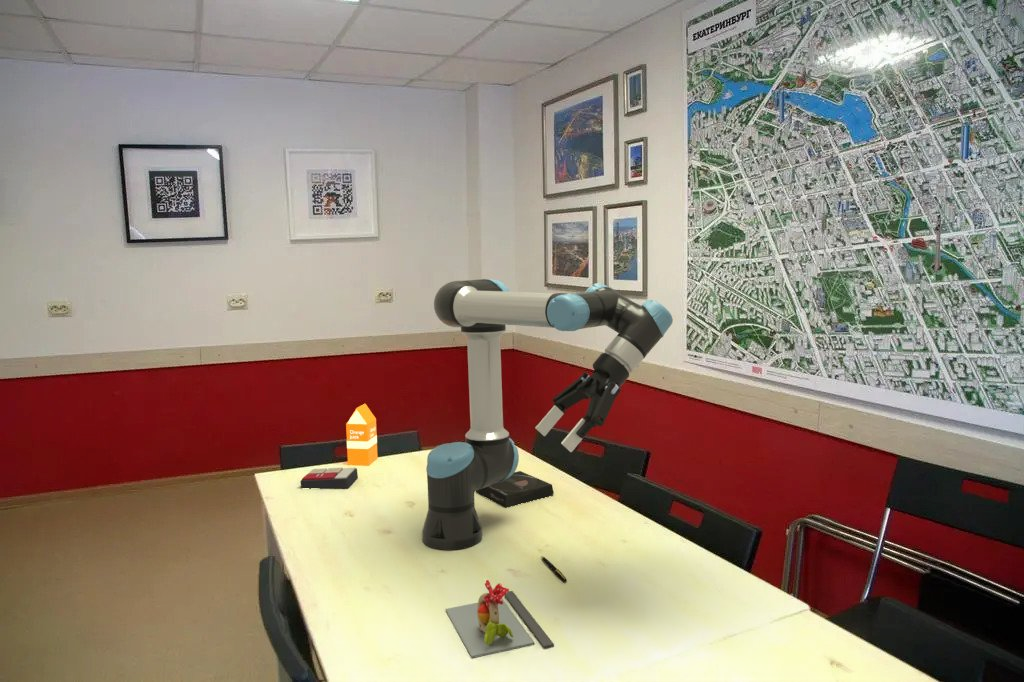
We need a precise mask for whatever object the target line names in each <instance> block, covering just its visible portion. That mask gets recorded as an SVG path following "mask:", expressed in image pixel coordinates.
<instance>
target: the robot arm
mask: <svg viewBox="0 0 1024 682" xmlns="http://www.w3.org/2000/svg"><path fill="white" fill-rule="evenodd" d="M433 299H434V300H433V309H434V313H435V316H436V317H437V318H438V320H439V321H441V322H442V323H443V324H445V326H448V327H452V328H460V333H461V334H462V335H463V336H464V337H465V338H466V339H467V340H466V341H467V343H466V344H467V346H466V347H467V365H468V368H467V369H468V371H467V372H468V391H469V392H468V394H469V395H468V396H469V418H470V423H469V424H470V428H469V430H468V431H467V432H466V433H465V435H464V436H465V437H464V439H465V440H464V441H465V442H464V441H454V442H451V443H449V442H447V443H443V444H439V445H437V446H435V447H434V448H433V449H431V450H430V451H429V453H428V454H427V459H426V470H425V471H426V478H427V480H426V482H427V483H426V484H427V501H428V504H427V505H428V510H427V513H426V517H425V519H424V523H423V527H422V532H421V537H422V543H424V544H425V546H428V547H429V548H432V549H437V550H443V551H444V550H445V551H448V550H451V551H452V550H460V549H461V550H462V549H465V548H469V547H472V546H475V545H476V544H478V543H479V542H481V541H482V539H483V527H482V524H481V521H480V518H479V516H478V512H477V509H476V506H475V505H476V504H475V493H476V491H477V490H480V489H482V488H485V487H488V486H490V485H493V484H497V483H500V482H502V481H504V480H505V479H507V478H509V477H510V476H512V475H513V473H514V472H517V468H518V465H519V460H520V458H519V457H520V456H519V450H518V447H517V446H516V445H515V442H514V441H513V439H512V438H511V437H510V432H509V431H508V430H507V429H505V428H504V415H503V414H504V412H503V411H504V410H503V389H502V388H503V387H502V385H503V383H502V358H501V357H502V355H501V354H502V353H501V351H502V350H501V338H502V335H504V333H505V332H506V330H507V329H506V325H507V326H518V327H519V326H522V327H523V326H524V327H535V328H536V327H537V328H554V329H555V330H558V331H559V332H560V331H561V332H575V331H578V330H583V329H589V328H595V327H602V326H606V327H608V328H609V329H611V330H612V331H614V332H615V333H618V334H617V335H616V336H615V337H614V338H613V339H612V340H611V341H610V343H609V344H608V345H607V346H606V347H605V349H604V352H602V353H601V354H600V355H599V356H598V357H597V358H596V360H595V361H594V362H593V363H592V368H593V371H594V372H593V373H592V374H591V375H589V373H588V372H586V371H584V372H583V373H582V374H581V375H580V376H579V377H578V378H577V379H575V381H573V382H572V383H571V384H570V385H568V386H567V387H566V388H564V389H563V390H562V391H560V393H558V394H557V395H556V396H554V397H553V398H552V403H553V406H552V408H551V409H550V410H548V412H547V413H546V415H544V417H543V418H542V419H541V421H540V422H539V423H538V424H537V425H536V426H535V429H536V430H537V432H539V433H540V434H541V435H542V436H543V437H546V436H547V435H548V433H549V432H550V431H551V430H552V428H553V427H554V426H555V425H556V424H557V423H558V421H559V420H560V419H561V418H562V416H564V415H565V414H566V410H568V409H570V408H571V407H573V406H574V405H576V404H578V403H579V402H581V401H583V400H588V399H589V402H588V403H589V404H588V408H587V409H586V410H587V411H586V414H584V415H582V418H581V419H580V420H579V421H578V422H577V423H576V424H575V426H574V427H573V428H572V429H571V431H570V432H569V433H568V434H567V436H565V437H564V439H563V440H562V441H561V445H562V446H563V447H564V448H565V449H566V450H568V451H569V452H570V453H572V452H573V451H574V450H575V449H576V448H577V446H578V445H579V444H580V443H581V442H582V440H583V439H584V438H585V437H586V436H587V434H588V433H589V432H590V431H591V430H592V429H593V428H596V427H597V426H598V427H599V428H601V427H603V426H604V424H605V421H606V419H607V417H608V416H609V413H610V411H611V408H612V407H613V405H614V403H615V400H616V398H617V397H618V395H619V394H620V393H621V391H622V388H620V387H622V386H623V384H624V383H625V382H626V381H627V379H628V378H629V377H630V374H631V373H633V372H634V371H635V369H636V368H639V366H640V363H641V362H643V360H644V359H645V357H647V355H648V354H649V353H650V352H651V350H652V349H653V348H654V347H655V346H656V345H657V344H658V342H659V341H660V340H661V339H662V338H664V336H665V334H666V333H667V331H668V330H669V328H671V326H672V325H673V316H672V313H671V312H670V311H669V310H668V309H667V308H666V307H665V305H664V304H661V302H658V301H657V300H652V299H647V300H645V302H644V303H642V304H638V303H637V302H635V301H632V300H631V299H629V298H628V297H626V296H624V295H623V294H621V293H620V292H618V291H617V290H615V289H614V288H612V287H610V286H607V285H605V284H603V283H600V282H599V283H598V282H597V283H593V284H592V286H591V285H590V286H589V287H588V288H587V289H586V290H585V291H584V292H580V293H579V292H578V293H577V292H576V293H575V292H571V293H568V292H534V291H533V292H531V291H525V292H524V291H511V290H510V288H508V287H507V285H506V284H505V283H503V282H502V281H500V280H497V279H491V278H490V279H489V278H483V279H469V280H468V279H467V280H453V281H450V282H446V283H445V284H444V285H442V286H441V287H440V288H439V289H438V290H437V291H436V294H435V296H434V298H433Z"/></svg>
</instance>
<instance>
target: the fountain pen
mask: <svg viewBox="0 0 1024 682" xmlns="http://www.w3.org/2000/svg"><path fill="white" fill-rule="evenodd" d="M540 558H541V559H542V561H543V562H544V563H545V565H546V566H547V565H548V566H547V567H548V568H549V569H550V570H551V571H552V572H553V573H554V575H555V576H556V577H558V579H560V580H561V581H562V582H564V583H567V582H568V581H567V579H568V578H566V576H565V575H564V574H563V572H562V571H560V570H559V569H558V568H557V567H556V566H555V565H554V564H553V563H552V562H551V561H549V559H547V558H546V557H545V556H542V555H541V556H540Z"/></svg>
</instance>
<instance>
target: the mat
mask: <svg viewBox="0 0 1024 682" xmlns="http://www.w3.org/2000/svg"><path fill="white" fill-rule="evenodd" d="M504 597H505V599H506V600H507V601H508V603H509V604H510V606H511V607H512V608H513V610H514V611H515V612H516V614H517V615H518V616H519V617H520V619H521V620H522V622H523V623H524V625H525V626H526V627H527V628H528V630H529V631H530V632H531V635H533V636H534V638H535V639H536V640H537V642H538V643H539V644H540V646H541V648H543V649H544V650H545V649H549V648H550V649H551V648H553V647H555V643H554V642H553V641H552V640H551V638H550V637H549V636H548V634H547V633H546V632H545V631H544V629H543V628H542V627H541V625H540V624H539V623H538V621H536V619H535V617H533V615H532V614H531V613H530V612H529V610H528V609H527V608H526V606H525V605H524V604H523V602H522V601H521V600H520V599H519V598H518V596H517V595H516V594H515V592H514V591H513V590H509V592H508V593H507V594H506V595H505V596H504ZM502 601H503V604H499V603H498V610H499V624H500V623H503V624H506V625H507V626H508V627H509V628H510V629H511V631H512V633H513V637H511V636H510V634H509V632H508V634H507V635H506V636H505V637H500V636H497V635H495V638H494V640H493V641H492V644H491V645H489V643H485V642H484V637H485V634H486V633H484V632H483V631H480V629H479V621H478V616H477V605H478V602H475V603H468V604H464V605H459V606H453V607H448V608H445V612H446V614H447V616H448V618H449V619H450V621H451V624H452V625H453V627H454V628H455V630H456V632H457V634H458V636H459V638H460V639H461V641H462V643H463V645H464V647H465V648H466V650H467V653H468V654H469V656H470V657H471V659H474V658H475V659H476V658H479V657H483V656H487V655H492V654H497V653H501V652H506V651H511V650H514V649H520V648H524V647H528V646H529V647H530V646H532V645H535V641H534V639H533V638H532V637H531V636H530V633H528V632H527V630H526V629H525V627H524V626H523V624H522V623H521V622H520V620H519V619H518V618H517V616H516V615H515V613H514V612H513V611H512V610H511V608H510V606H508V604H507V602H506V601H505V600H504V599H503V598H502Z"/></svg>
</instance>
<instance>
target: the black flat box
mask: <svg viewBox="0 0 1024 682" xmlns="http://www.w3.org/2000/svg"><path fill="white" fill-rule="evenodd" d="M554 492H555V491H554V489H553V484H552V483H549V482H547V481H544V480H542V479H541V478H538V477H535V476H532V475H530V474H529V473H526V472H523V471H521V470H519V471H515V472H514V473H513V475H512V476H510V477H509V478H507V479H505V480H504V481H502V482H500V483H497V484H493V485H490V486H488V487H485V488H482V489H480V490H477V491H475V493H476V494H478V495H480V496H482V497H484V498H485V497H486V498H485V499H487V498H488V500H489V499H490V501H491V500H492V501H491V502H494V503H495V502H496V503H495V504H498V505H499V506H501V507H503V508H505V509H508V508H512V507H515V505H516V506H519V505H518V504H520V505H522V504H521V503H524V504H527V503H531V502H534V501H533V500H535V501H538V500H537V499H539V500H542V499H541V498H543V499H546V498H545V497H547V498H550V497H549V496H551V497H553V496H554V494H555V493H554ZM530 501H531V502H530ZM526 502H527V503H526ZM511 506H512V507H511ZM507 507H508V508H507Z"/></svg>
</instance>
